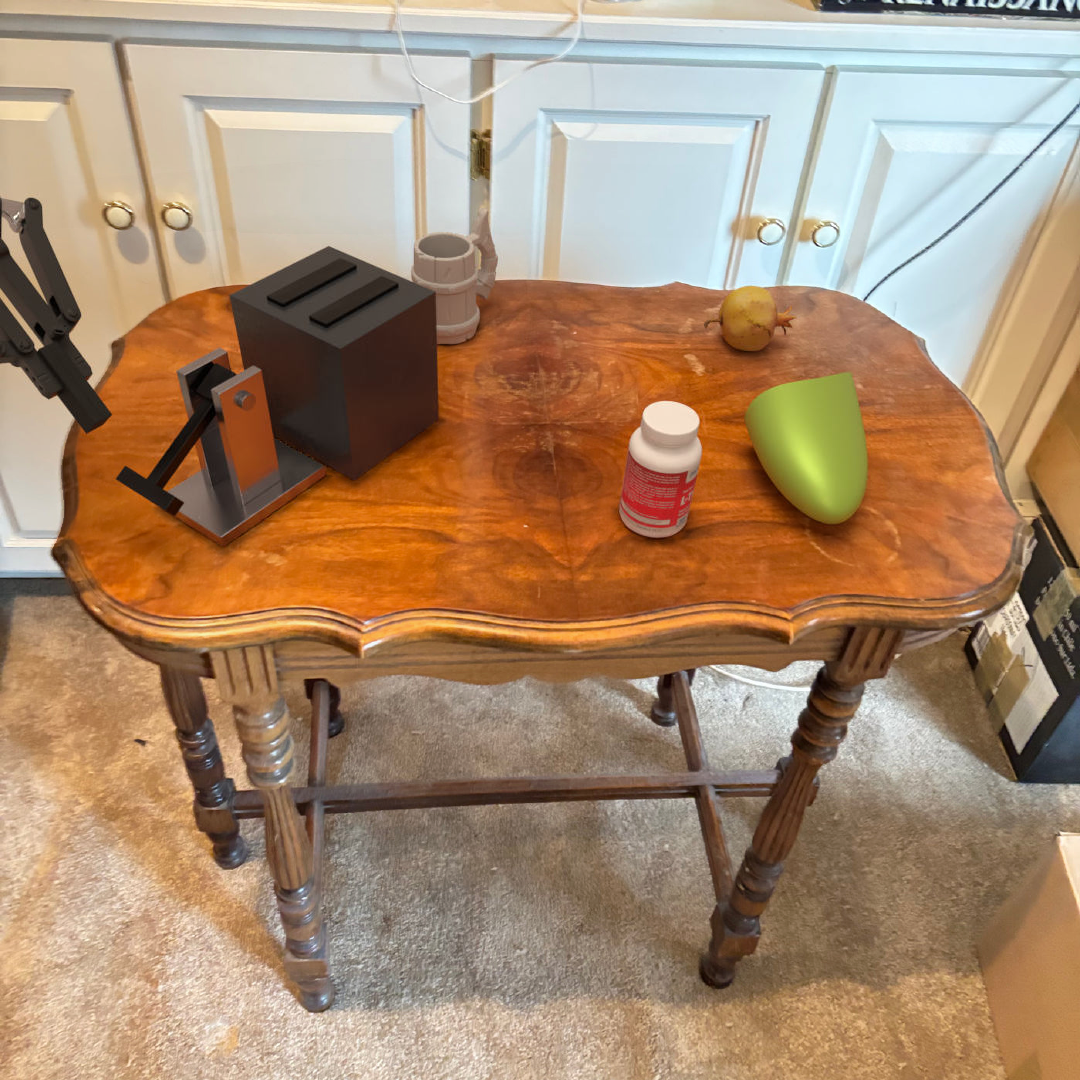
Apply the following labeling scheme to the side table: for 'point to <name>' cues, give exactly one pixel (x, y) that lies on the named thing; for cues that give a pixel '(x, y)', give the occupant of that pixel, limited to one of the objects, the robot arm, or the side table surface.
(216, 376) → the lever
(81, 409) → the robot arm
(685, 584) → the side table surface
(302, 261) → the toaster
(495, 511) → the side table surface
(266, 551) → the side table surface
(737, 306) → the fruit
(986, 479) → the side table surface
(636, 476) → the pill bottle
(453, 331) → the mug
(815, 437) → the green rounded cone
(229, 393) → the lever bracket
